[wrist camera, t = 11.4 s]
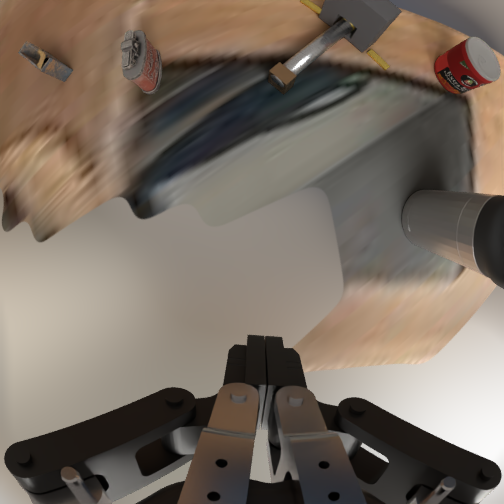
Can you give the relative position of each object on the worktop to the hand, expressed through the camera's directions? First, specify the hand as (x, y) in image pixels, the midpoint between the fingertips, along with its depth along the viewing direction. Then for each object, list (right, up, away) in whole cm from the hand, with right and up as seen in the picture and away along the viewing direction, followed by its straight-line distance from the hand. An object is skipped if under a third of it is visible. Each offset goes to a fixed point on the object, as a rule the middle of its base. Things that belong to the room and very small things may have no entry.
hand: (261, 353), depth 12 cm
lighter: (-16, +32, +23) cm, 43 cm away
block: (+15, +40, +21) cm, 47 cm away
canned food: (+35, +36, +21) cm, 54 cm away
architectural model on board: (-37, +39, +23) cm, 59 cm away
